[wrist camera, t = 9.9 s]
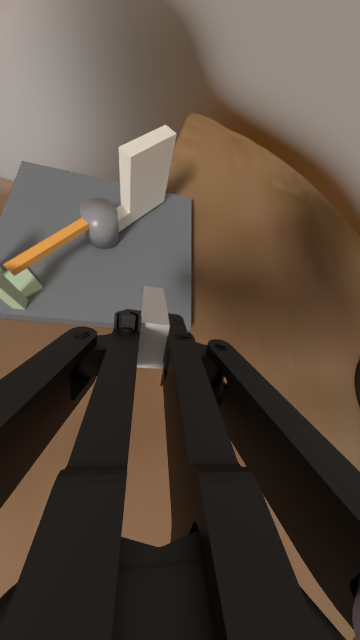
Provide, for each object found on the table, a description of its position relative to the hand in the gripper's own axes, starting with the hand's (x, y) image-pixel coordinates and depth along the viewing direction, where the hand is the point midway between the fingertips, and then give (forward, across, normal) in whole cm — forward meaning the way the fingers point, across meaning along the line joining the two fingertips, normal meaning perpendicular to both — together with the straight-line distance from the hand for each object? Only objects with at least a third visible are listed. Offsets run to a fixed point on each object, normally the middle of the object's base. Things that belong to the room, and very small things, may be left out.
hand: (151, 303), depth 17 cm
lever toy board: (+16, -7, +1) cm, 17 cm away
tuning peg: (+15, -7, +3) cm, 16 cm away
